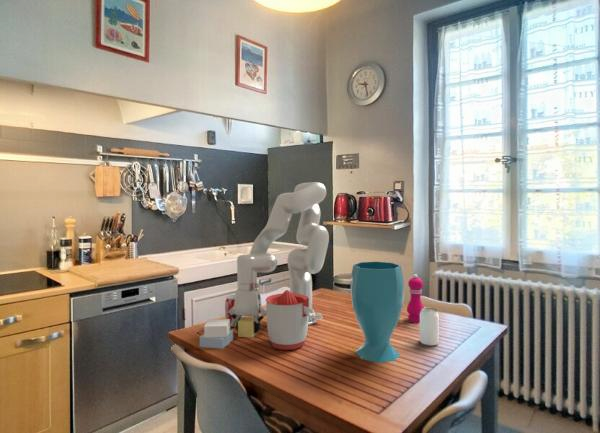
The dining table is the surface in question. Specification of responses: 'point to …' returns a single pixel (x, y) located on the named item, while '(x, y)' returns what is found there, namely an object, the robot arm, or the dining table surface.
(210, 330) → the top block
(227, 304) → the soda can
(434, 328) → the can
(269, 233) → the robot arm
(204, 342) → the base block
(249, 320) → the stack cube
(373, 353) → the vase
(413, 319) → the pepper mill
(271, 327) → the citrus juicer
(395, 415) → the dining table surface
